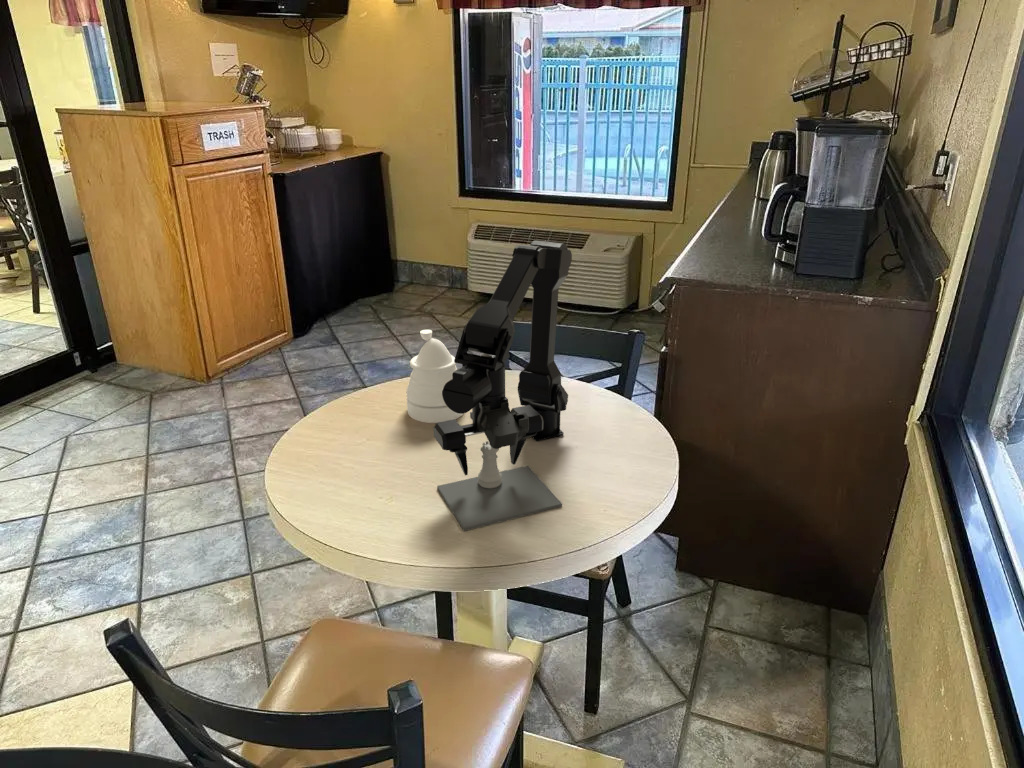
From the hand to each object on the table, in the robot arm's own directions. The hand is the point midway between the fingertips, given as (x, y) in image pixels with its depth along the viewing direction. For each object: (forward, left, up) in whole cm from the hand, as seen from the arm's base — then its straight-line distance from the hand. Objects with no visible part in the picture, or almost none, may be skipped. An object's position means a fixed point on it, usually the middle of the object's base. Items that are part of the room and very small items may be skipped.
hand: (489, 468), depth 128 cm
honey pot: (-1, -34, -4) cm, 34 cm away
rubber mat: (0, +4, -4) cm, 5 cm away
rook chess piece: (0, 0, -3) cm, 3 cm away
